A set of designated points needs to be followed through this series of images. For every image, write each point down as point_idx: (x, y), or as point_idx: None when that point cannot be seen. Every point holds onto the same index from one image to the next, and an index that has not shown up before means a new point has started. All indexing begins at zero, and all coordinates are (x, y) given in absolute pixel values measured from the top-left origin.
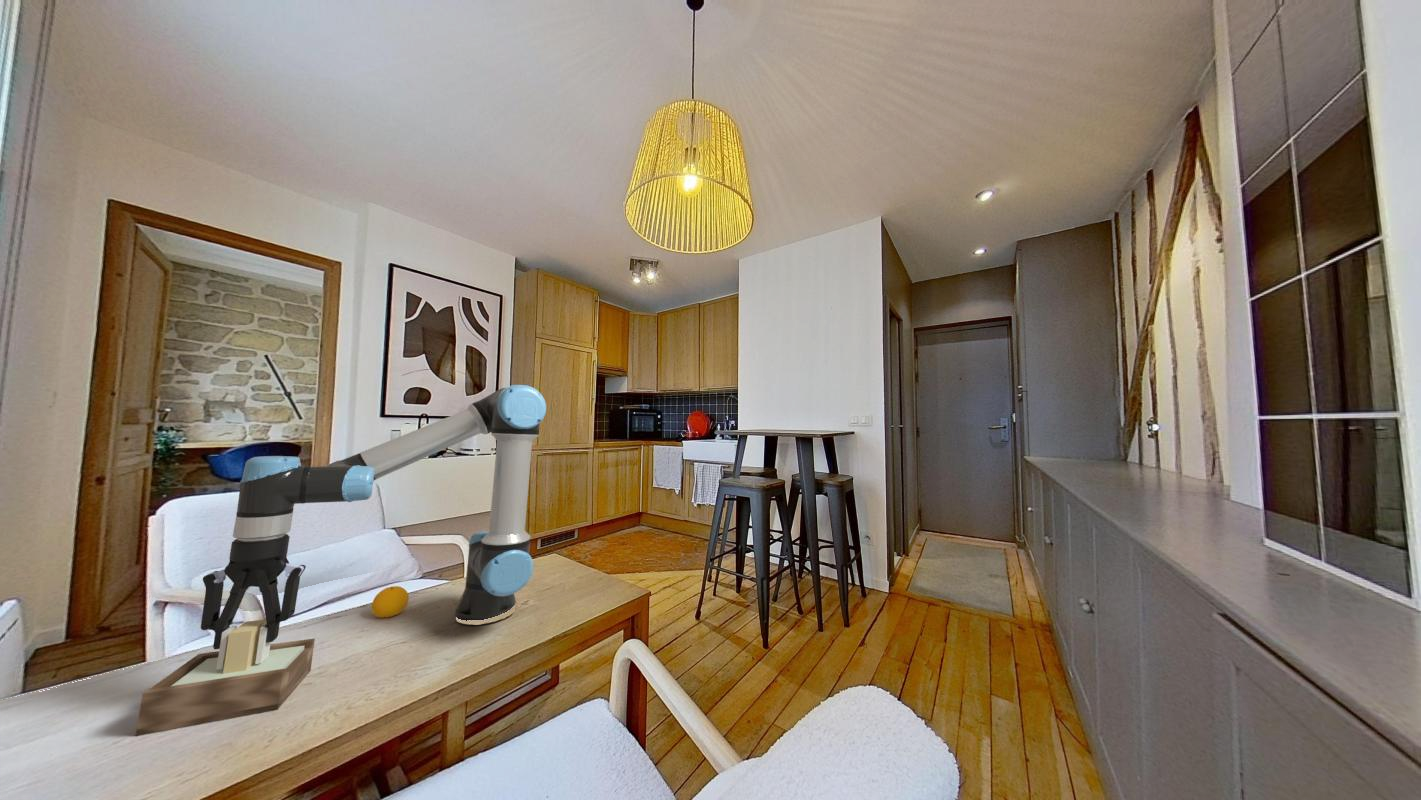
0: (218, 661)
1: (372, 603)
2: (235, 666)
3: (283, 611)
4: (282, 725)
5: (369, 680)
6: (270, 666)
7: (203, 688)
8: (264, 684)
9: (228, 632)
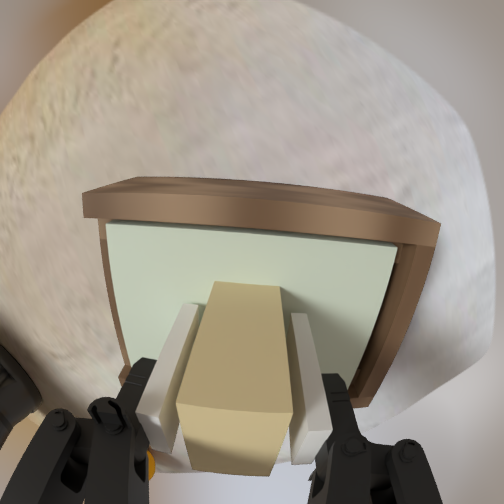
0: (308, 331)
1: (149, 469)
2: (245, 294)
3: (51, 453)
4: (108, 105)
5: (32, 234)
6: (150, 276)
7: (300, 199)
8: (137, 187)
9: (306, 429)
